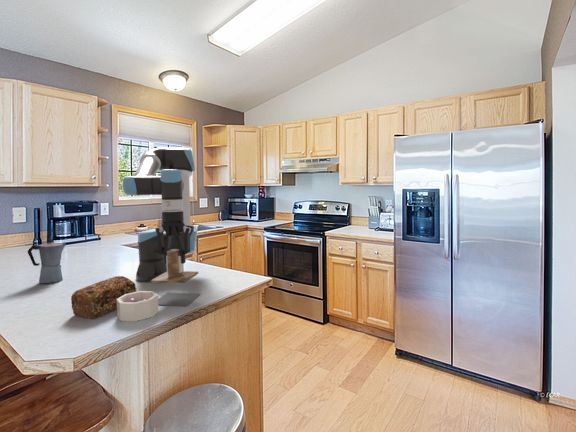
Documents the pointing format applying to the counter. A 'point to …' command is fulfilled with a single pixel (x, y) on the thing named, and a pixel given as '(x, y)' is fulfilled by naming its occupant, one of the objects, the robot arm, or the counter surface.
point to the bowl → (137, 305)
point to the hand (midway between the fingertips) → (175, 271)
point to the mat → (177, 299)
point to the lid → (174, 270)
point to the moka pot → (49, 261)
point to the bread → (100, 297)
